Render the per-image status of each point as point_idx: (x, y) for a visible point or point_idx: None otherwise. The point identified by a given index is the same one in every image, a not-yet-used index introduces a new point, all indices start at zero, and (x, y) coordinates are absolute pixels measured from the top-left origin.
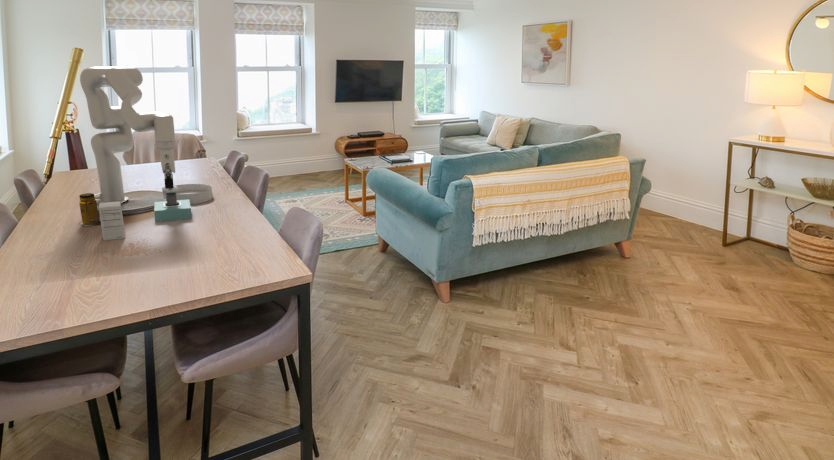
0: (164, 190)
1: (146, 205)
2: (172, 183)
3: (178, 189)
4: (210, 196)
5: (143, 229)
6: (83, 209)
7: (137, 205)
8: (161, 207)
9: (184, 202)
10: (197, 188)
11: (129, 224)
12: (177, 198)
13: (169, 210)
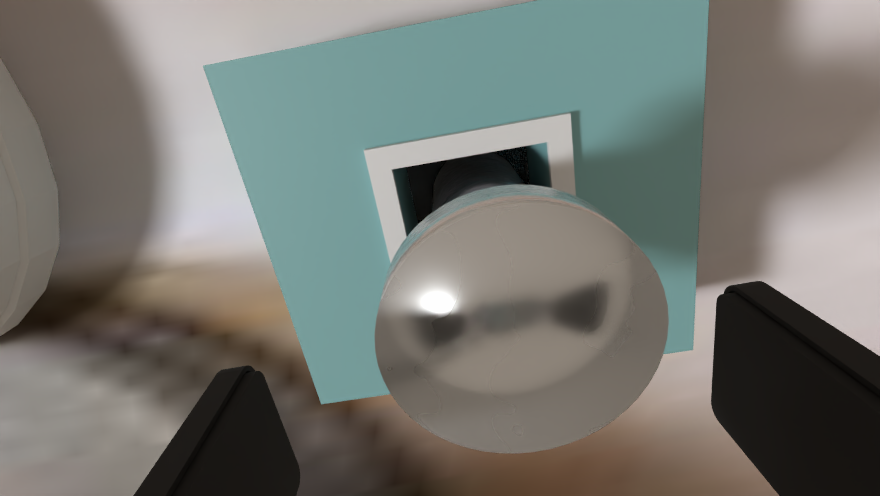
0: (616, 397)
1: (134, 435)
2: (840, 347)
3: (538, 193)
4: None
5: None
6: None
7: (140, 483)
8: None
9: (377, 103)
10: None
11: (663, 435)
12: (4, 237)
13: (695, 218)
